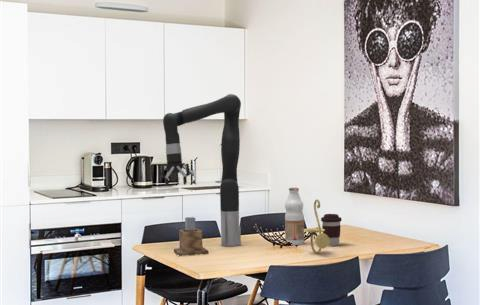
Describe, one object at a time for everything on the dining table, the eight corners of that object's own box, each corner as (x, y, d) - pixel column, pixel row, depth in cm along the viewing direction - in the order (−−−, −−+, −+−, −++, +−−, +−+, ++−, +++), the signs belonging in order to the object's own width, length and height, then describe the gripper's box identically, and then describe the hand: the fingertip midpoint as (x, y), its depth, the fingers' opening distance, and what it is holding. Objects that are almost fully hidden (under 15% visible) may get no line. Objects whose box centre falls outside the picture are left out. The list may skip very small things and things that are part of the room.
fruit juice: (284, 245, 300) (283, 188, 299) (286, 242, 309) (285, 187, 309) (303, 245, 298) (302, 188, 298) (305, 242, 307) (304, 187, 307)
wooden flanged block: (202, 249, 292) (202, 227, 292) (208, 253, 280) (208, 231, 280) (173, 251, 288) (173, 229, 288) (178, 256, 276) (178, 233, 276)
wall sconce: (332, 255, 270) (331, 199, 270) (312, 257, 268) (311, 200, 267) (320, 250, 284) (319, 197, 283) (301, 251, 281) (300, 198, 281)
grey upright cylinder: (193, 238, 287) (193, 217, 286) (195, 239, 283) (195, 218, 283) (185, 238, 285) (185, 217, 285) (187, 239, 282) (186, 218, 281)
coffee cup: (344, 243, 300) (343, 213, 300) (338, 247, 291) (338, 216, 291) (324, 242, 304) (324, 213, 304) (318, 246, 295) (318, 215, 295)
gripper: (160, 153, 298) (163, 186, 298) (189, 151, 302) (191, 184, 301) (158, 154, 305) (161, 186, 305) (186, 152, 309) (188, 184, 309)
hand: (176, 185), depth 303 cm, fingers open, 8 cm apart
